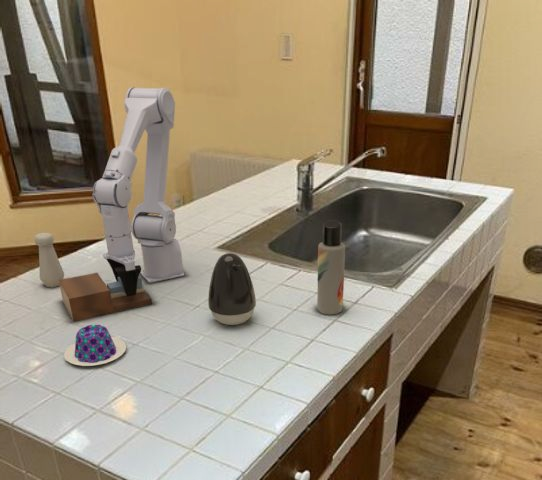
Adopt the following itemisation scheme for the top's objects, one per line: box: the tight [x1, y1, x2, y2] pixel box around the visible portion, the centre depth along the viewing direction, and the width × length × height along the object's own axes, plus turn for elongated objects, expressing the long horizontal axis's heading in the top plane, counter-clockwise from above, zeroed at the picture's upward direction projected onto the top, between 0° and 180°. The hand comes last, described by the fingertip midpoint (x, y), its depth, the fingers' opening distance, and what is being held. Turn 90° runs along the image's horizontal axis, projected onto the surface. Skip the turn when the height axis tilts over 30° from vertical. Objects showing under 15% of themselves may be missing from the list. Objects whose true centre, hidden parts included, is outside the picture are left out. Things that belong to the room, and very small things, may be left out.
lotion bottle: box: [316, 219, 346, 316], centre depth 131 cm, size 6×6×20 cm
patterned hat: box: [63, 324, 127, 367], centre depth 120 cm, size 12×12×5 cm
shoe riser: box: [59, 272, 153, 322], centre depth 140 cm, size 18×12×6 cm, turn 117°
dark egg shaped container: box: [207, 252, 257, 326], centre depth 129 cm, size 10×10×15 cm
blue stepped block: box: [106, 275, 145, 298], centre depth 142 cm, size 8×3×4 cm, turn 117°
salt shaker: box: [34, 232, 65, 288], centre depth 149 cm, size 6×6×13 cm
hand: (126, 289), depth 143 cm, fingers open, 7 cm apart
